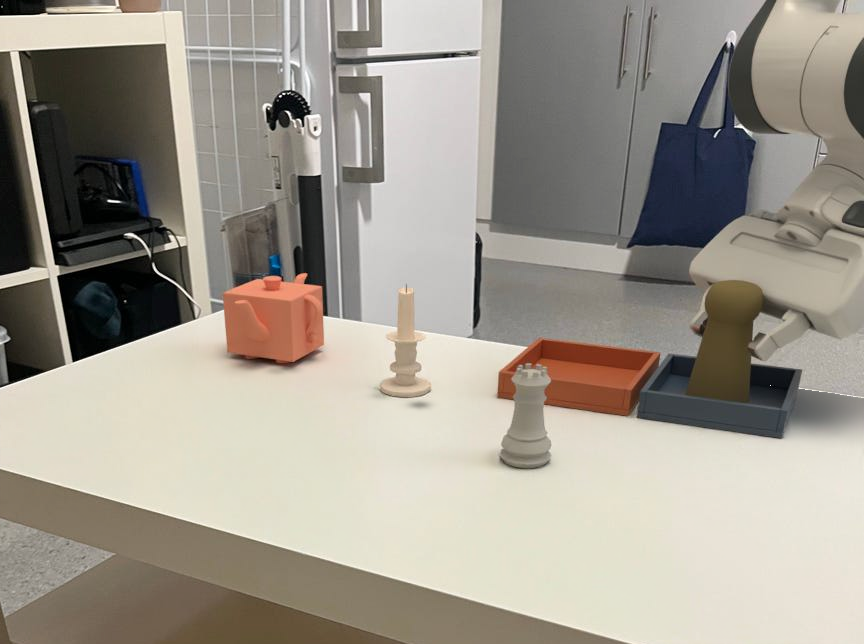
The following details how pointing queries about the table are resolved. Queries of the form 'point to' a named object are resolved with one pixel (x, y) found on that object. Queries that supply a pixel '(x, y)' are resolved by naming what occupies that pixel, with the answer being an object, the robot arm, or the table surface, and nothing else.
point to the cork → (726, 342)
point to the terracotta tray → (585, 374)
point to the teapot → (274, 319)
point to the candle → (405, 352)
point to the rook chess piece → (528, 420)
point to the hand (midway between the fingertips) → (724, 343)
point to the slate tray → (757, 417)
